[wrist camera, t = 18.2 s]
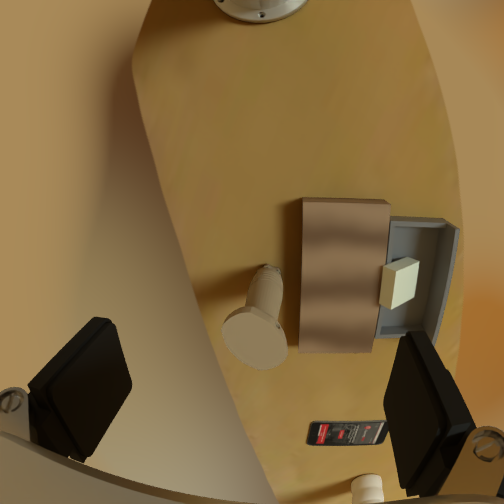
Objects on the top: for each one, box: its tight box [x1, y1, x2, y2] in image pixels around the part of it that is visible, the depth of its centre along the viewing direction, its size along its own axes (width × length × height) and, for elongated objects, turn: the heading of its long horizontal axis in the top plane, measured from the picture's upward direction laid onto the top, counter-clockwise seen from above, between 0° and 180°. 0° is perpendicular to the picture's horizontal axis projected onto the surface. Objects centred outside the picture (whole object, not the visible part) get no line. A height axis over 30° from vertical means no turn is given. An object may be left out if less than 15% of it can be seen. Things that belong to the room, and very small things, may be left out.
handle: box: [221, 264, 288, 370], centre depth 35 cm, size 5×6×15 cm
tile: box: [379, 257, 420, 310], centre depth 37 cm, size 5×5×2 cm
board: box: [298, 197, 391, 353], centre depth 39 cm, size 20×10×3 cm, turn 2°
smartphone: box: [307, 420, 389, 446], centre depth 50 cm, size 7×1×15 cm
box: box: [374, 216, 460, 346], centre depth 37 cm, size 16×8×5 cm, turn 2°
